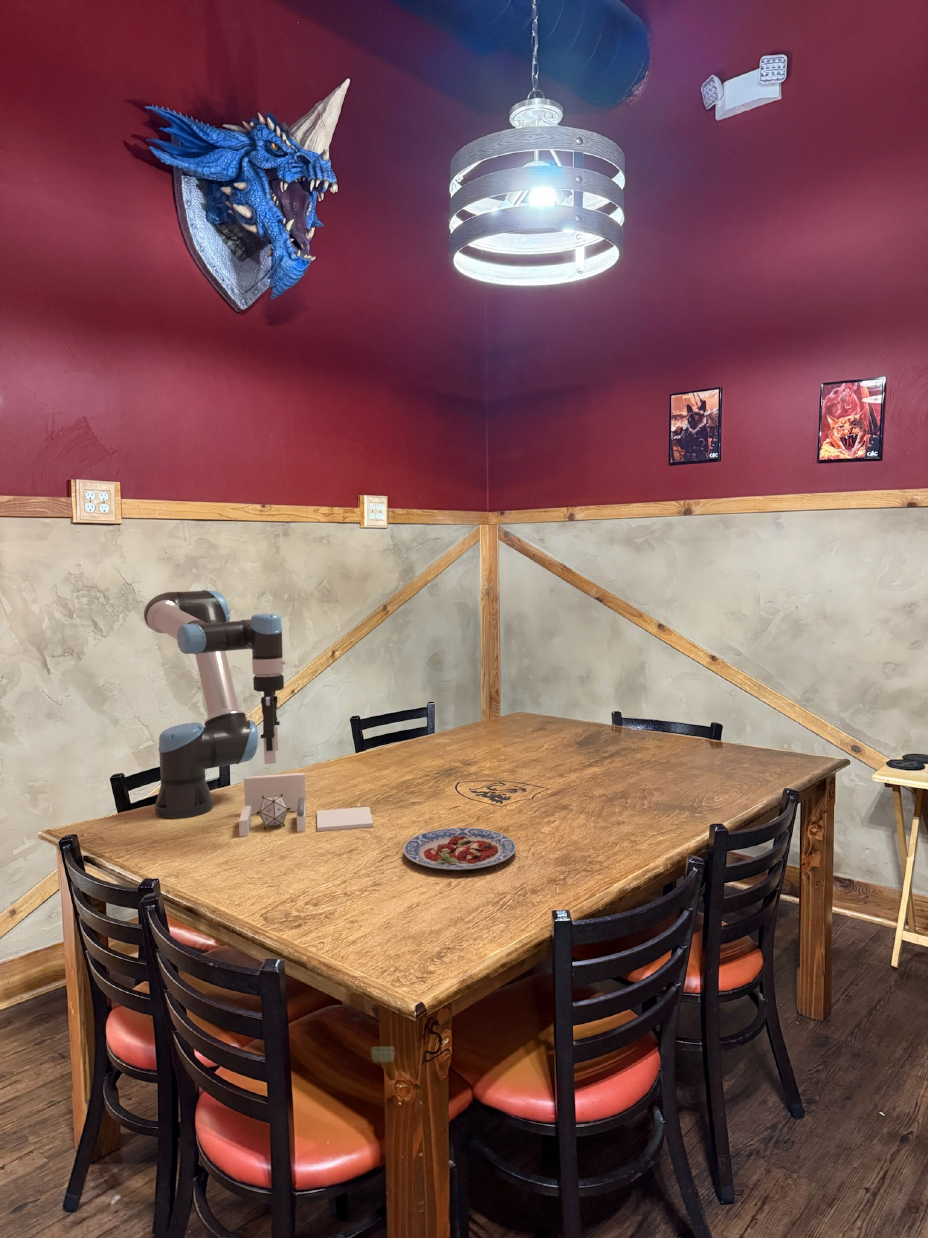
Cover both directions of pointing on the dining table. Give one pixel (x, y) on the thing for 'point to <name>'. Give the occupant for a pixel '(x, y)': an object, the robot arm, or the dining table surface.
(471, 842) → the ceramic plate
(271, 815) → the game die
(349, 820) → the mat
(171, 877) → the dining table surface
